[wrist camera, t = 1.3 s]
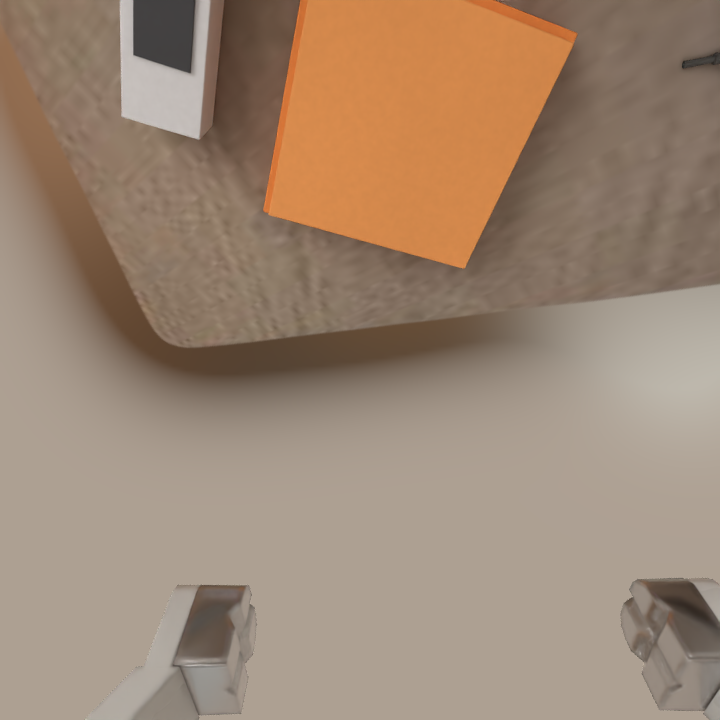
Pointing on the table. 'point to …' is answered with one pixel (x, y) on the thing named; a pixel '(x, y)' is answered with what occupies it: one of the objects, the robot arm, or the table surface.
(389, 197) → the folded cloth
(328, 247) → the table surface
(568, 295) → the table surface
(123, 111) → the remote
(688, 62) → the gaming mouse
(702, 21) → the table surface
